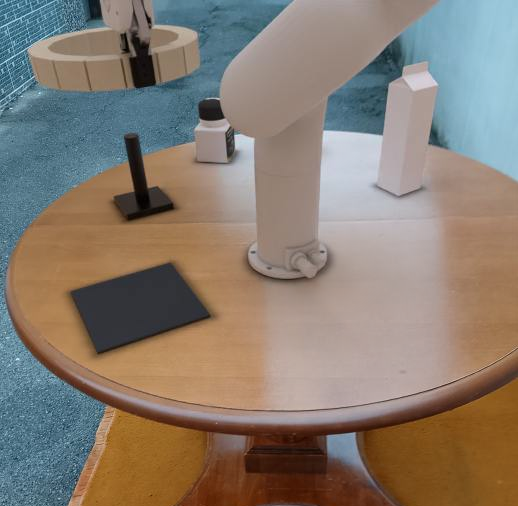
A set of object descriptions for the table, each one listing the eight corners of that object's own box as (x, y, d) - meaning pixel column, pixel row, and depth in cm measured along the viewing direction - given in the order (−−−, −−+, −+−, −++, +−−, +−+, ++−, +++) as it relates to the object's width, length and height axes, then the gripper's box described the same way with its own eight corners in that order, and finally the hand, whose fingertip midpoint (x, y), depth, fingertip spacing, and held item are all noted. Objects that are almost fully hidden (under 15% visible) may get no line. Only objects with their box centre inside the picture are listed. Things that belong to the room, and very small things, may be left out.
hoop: (226, 72, 82) (223, 42, 79) (53, 102, 73) (44, 70, 71) (168, 43, 100) (165, 19, 97) (24, 65, 91) (17, 38, 89)
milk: (420, 188, 104) (443, 64, 90) (397, 196, 102) (417, 70, 88) (398, 178, 108) (416, 57, 94) (375, 185, 106) (391, 63, 91)
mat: (210, 316, 75) (210, 314, 75) (98, 354, 70) (97, 351, 69) (170, 264, 86) (170, 262, 86) (71, 293, 81) (70, 291, 80)
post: (174, 208, 101) (163, 138, 93) (128, 220, 98) (113, 148, 90) (158, 191, 107) (147, 123, 99) (114, 201, 104) (99, 132, 96)
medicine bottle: (228, 163, 117) (223, 106, 109) (196, 162, 118) (190, 105, 111) (235, 151, 122) (232, 95, 115) (205, 150, 124) (200, 95, 116)
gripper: (70, -74, 71) (102, 76, 83) (100, -72, 60) (133, 101, 72) (124, -78, 74) (148, 68, 85) (164, -77, 62) (185, 92, 74)
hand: (141, 82), depth 78 cm, fingers closed on hoop, 3 cm apart
